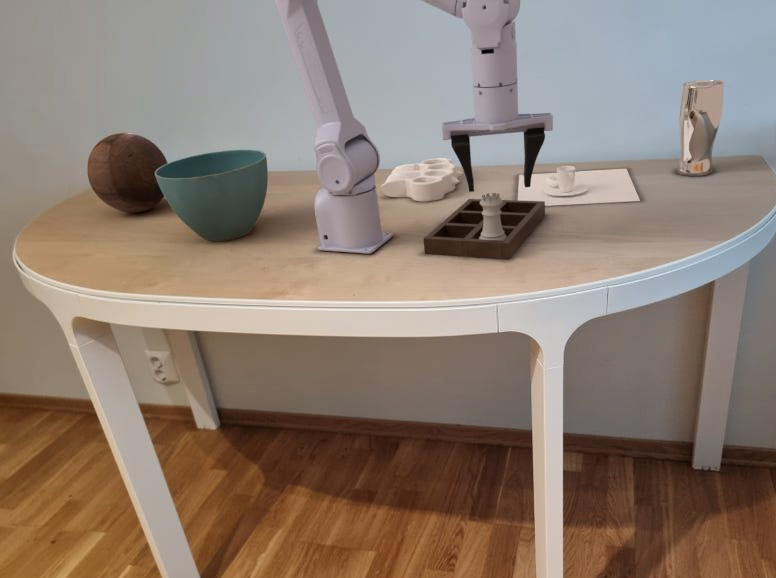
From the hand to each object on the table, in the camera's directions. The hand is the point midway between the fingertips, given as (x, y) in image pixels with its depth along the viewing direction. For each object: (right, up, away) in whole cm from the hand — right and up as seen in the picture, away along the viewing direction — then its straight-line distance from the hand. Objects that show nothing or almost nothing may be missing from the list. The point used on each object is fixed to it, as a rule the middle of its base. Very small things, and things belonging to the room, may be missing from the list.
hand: (499, 187), depth 97 cm
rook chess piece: (0, -8, +6) cm, 10 cm away
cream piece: (+17, +7, +28) cm, 33 cm away
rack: (0, -4, +11) cm, 12 cm away
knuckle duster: (-10, +9, +37) cm, 39 cm away
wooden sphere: (-67, +6, +43) cm, 80 cm away
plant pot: (-44, -2, +25) cm, 51 cm away
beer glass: (+39, +10, +29) cm, 49 cm away
